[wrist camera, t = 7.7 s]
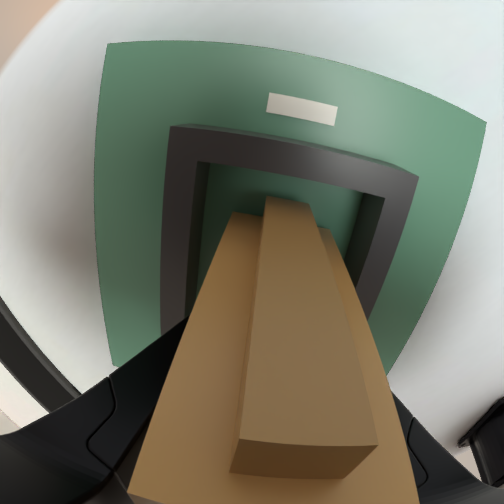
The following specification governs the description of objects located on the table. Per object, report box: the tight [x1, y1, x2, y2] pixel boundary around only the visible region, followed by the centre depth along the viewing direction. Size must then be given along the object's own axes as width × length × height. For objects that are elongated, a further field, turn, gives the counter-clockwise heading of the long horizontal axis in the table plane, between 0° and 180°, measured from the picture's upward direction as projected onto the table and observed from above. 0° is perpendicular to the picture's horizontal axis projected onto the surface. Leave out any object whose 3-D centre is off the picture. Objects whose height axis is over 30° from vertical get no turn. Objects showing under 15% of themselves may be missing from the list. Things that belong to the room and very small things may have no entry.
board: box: [94, 41, 487, 376], centre depth 10 cm, size 14×13×3 cm
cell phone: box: [0, 297, 82, 413], centre depth 17 cm, size 7×14×1 cm, turn 27°
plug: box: [127, 196, 420, 504], centre depth 6 cm, size 5×3×8 cm, turn 171°
